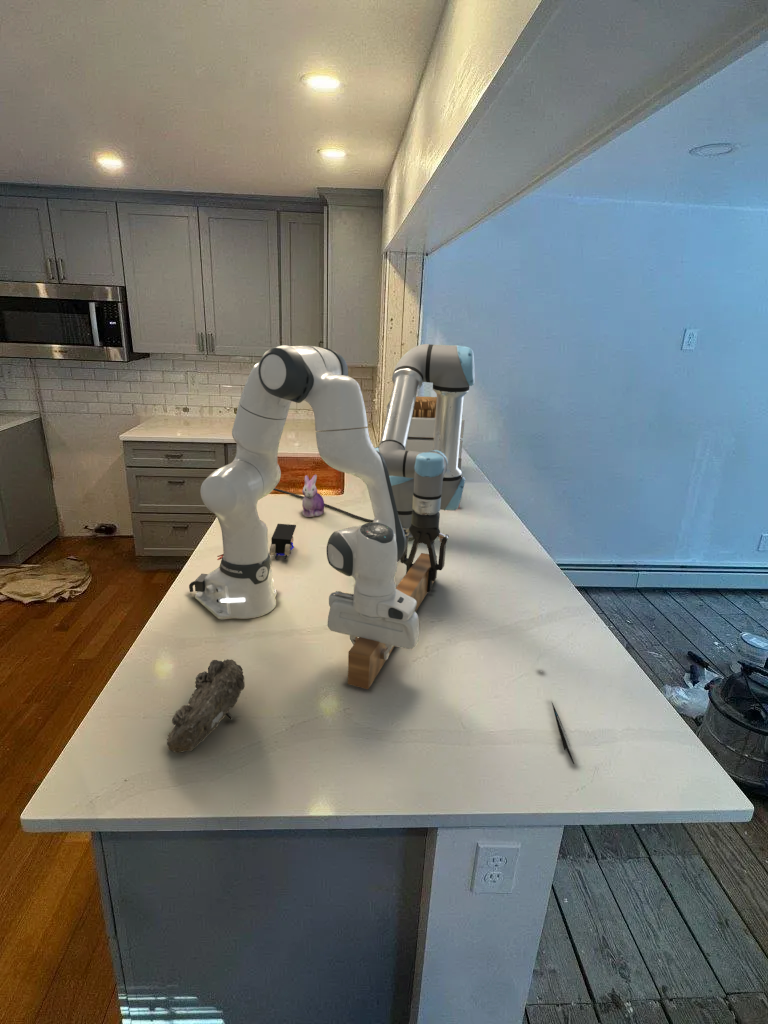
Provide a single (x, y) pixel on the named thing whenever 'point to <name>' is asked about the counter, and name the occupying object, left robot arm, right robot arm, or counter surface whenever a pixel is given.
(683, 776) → the counter surface
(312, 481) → the figurine
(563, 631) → the counter surface
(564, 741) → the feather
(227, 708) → the fossil
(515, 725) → the counter surface
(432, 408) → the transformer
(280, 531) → the figurine character
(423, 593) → the post
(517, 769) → the counter surface
